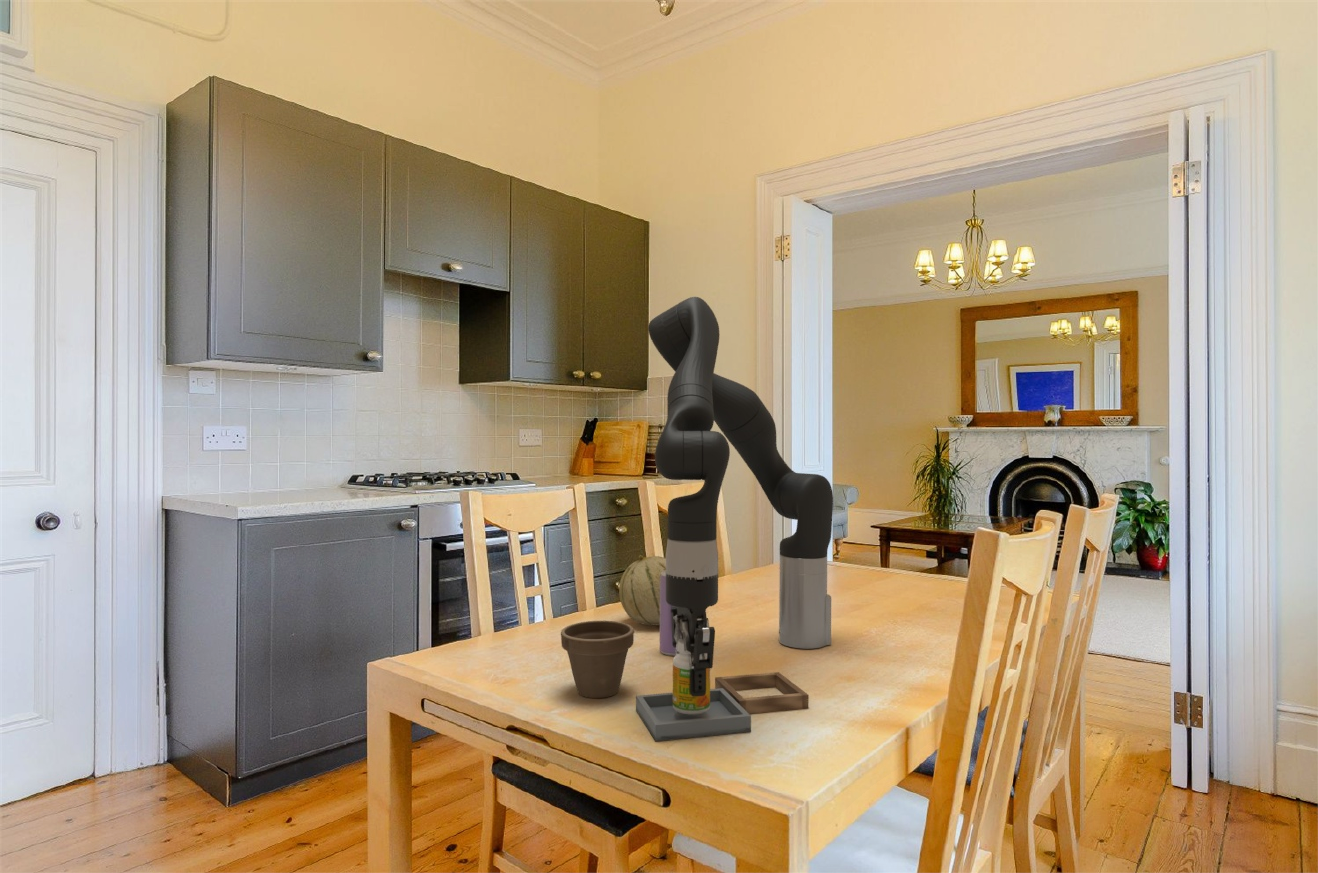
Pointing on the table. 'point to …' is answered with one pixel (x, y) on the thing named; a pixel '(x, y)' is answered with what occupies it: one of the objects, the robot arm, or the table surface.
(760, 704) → the brown wooden square frame
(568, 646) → the flower pot
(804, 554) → the robot arm
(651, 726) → the tray
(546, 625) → the table surface
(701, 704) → the supplement bottle
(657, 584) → the cantaloupe
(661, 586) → the beverage can
